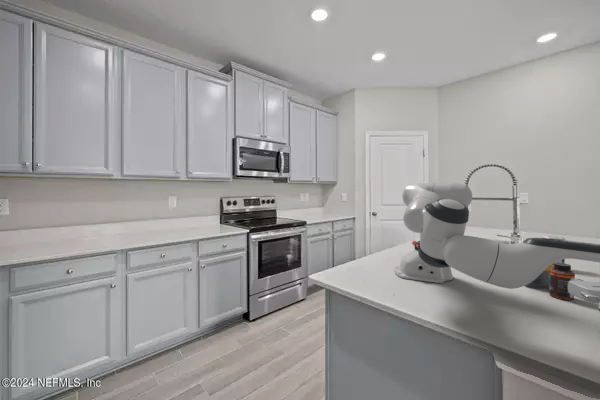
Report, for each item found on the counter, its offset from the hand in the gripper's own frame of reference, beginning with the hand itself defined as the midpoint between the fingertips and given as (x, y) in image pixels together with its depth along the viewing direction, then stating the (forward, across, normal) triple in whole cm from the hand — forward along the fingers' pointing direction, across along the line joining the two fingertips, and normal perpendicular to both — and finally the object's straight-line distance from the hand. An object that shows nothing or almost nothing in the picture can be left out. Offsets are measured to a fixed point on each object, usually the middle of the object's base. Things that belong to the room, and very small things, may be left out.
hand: (595, 282), depth 75 cm
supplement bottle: (+12, 0, -10) cm, 16 cm away
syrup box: (+49, +18, -10) cm, 53 cm away
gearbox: (+26, -2, -10) cm, 28 cm away
